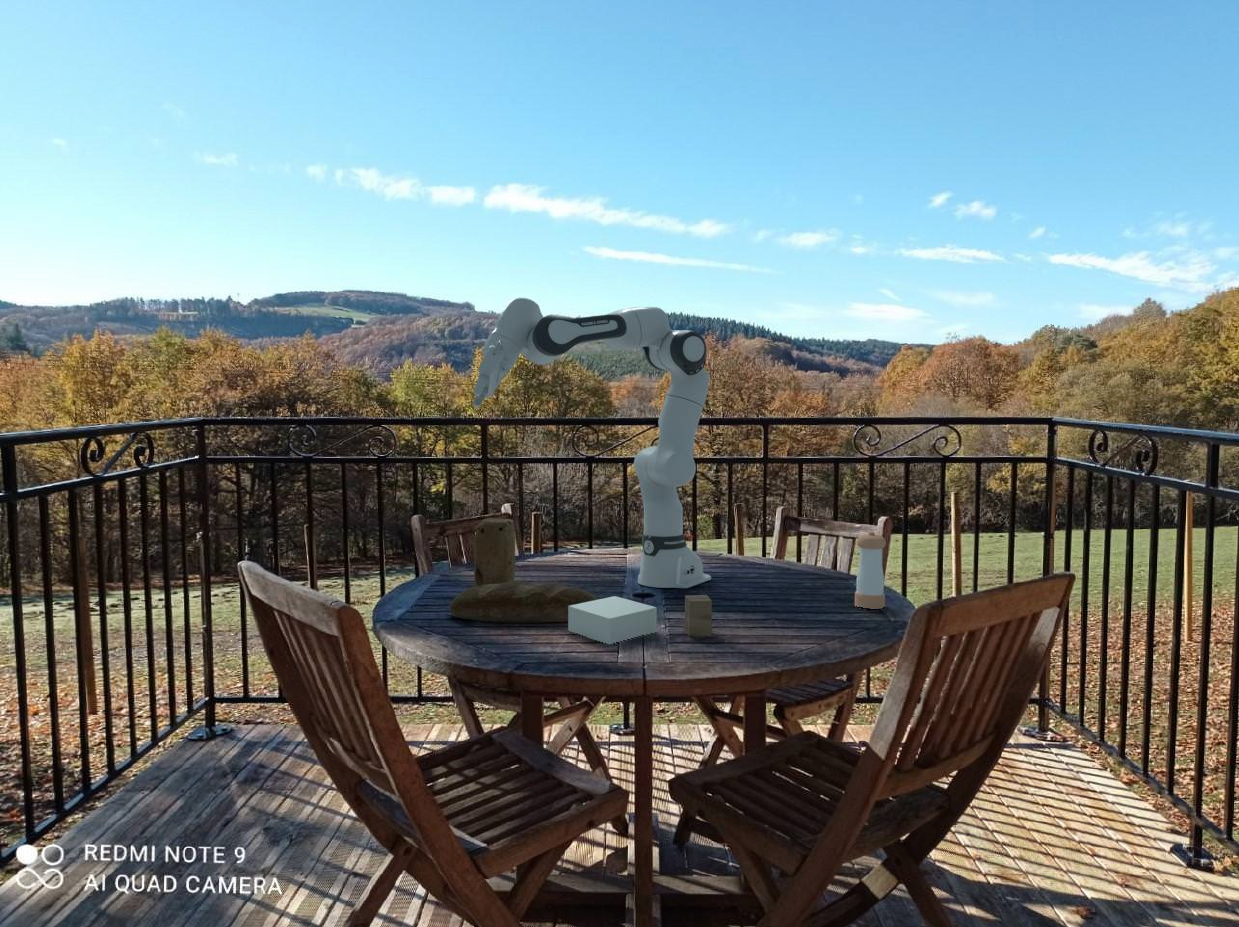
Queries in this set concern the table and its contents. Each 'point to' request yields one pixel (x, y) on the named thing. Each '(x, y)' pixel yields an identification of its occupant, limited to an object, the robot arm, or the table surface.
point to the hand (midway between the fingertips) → (475, 400)
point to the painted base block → (612, 619)
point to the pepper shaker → (870, 572)
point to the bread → (518, 602)
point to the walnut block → (698, 615)
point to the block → (494, 552)
